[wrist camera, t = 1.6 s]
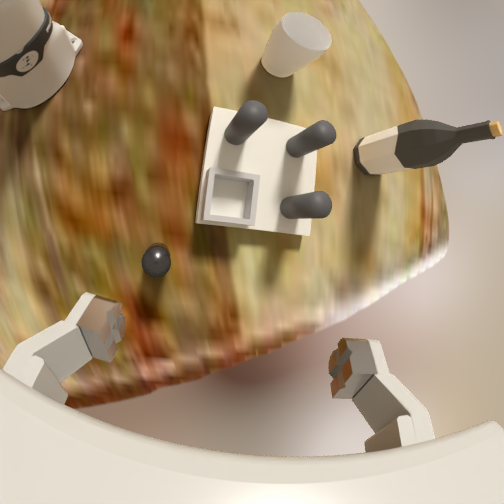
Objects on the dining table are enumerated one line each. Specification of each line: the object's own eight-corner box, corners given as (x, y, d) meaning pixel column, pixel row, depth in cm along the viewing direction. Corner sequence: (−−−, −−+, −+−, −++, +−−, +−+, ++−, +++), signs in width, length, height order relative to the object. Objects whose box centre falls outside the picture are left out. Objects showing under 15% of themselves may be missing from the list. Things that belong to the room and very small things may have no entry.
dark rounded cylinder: (142, 253, 39) (135, 260, 30) (159, 237, 39) (157, 241, 31) (157, 270, 40) (154, 283, 31) (174, 255, 40) (176, 264, 32)
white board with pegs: (195, 223, 41) (206, 222, 30) (210, 112, 40) (227, 79, 29) (302, 235, 46) (342, 239, 36) (310, 135, 45) (349, 115, 34)
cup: (294, 90, 43) (328, 61, 32) (248, 71, 41) (274, 34, 29) (303, 58, 43) (335, 28, 32) (262, 39, 41) (287, 3, 29)
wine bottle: (378, 182, 51) (511, 168, 22) (349, 166, 48) (491, 136, 20) (384, 149, 51) (506, 121, 22) (356, 131, 48) (484, 87, 20)
